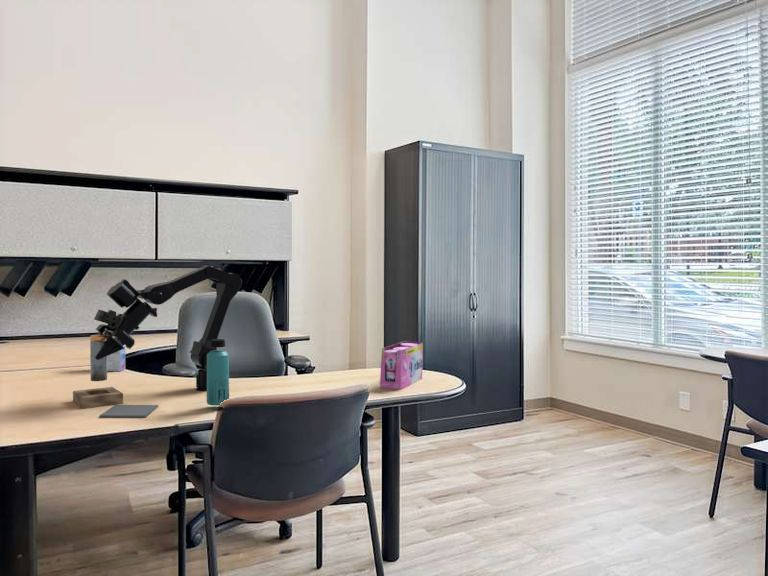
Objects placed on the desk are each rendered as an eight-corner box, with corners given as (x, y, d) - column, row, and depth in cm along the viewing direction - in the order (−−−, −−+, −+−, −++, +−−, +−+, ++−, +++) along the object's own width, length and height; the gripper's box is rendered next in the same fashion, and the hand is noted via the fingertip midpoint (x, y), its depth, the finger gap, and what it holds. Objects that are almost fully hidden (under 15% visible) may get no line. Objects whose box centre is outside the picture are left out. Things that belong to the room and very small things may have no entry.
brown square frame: (112, 396, 190) (112, 386, 190) (122, 403, 182) (122, 393, 182) (73, 401, 183) (72, 391, 183) (82, 408, 175) (82, 398, 175)
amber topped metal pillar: (109, 378, 184) (109, 334, 183) (104, 381, 180) (103, 336, 179) (93, 378, 184) (93, 334, 183) (88, 381, 179) (87, 336, 179)
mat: (158, 406, 179) (158, 404, 178) (145, 417, 167) (145, 415, 167) (115, 406, 178) (115, 404, 178) (99, 417, 166) (99, 415, 166)
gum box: (399, 391, 207) (400, 350, 206) (377, 388, 210) (378, 348, 209) (422, 378, 229) (423, 342, 229) (402, 376, 232) (403, 340, 232)
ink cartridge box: (126, 368, 236) (126, 331, 235) (121, 371, 231) (121, 332, 230) (99, 368, 235) (99, 330, 234) (93, 371, 230) (93, 332, 229)
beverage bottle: (217, 412, 174) (217, 341, 173) (200, 408, 178) (201, 339, 177) (234, 407, 180) (234, 338, 179) (218, 404, 183) (218, 337, 182)
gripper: (102, 297, 190) (63, 336, 183) (123, 302, 176) (81, 343, 169) (129, 322, 196) (92, 360, 189) (150, 327, 181) (111, 369, 175)
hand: (93, 357), depth 180 cm, fingers closed on amber topped metal pillar, 4 cm apart
